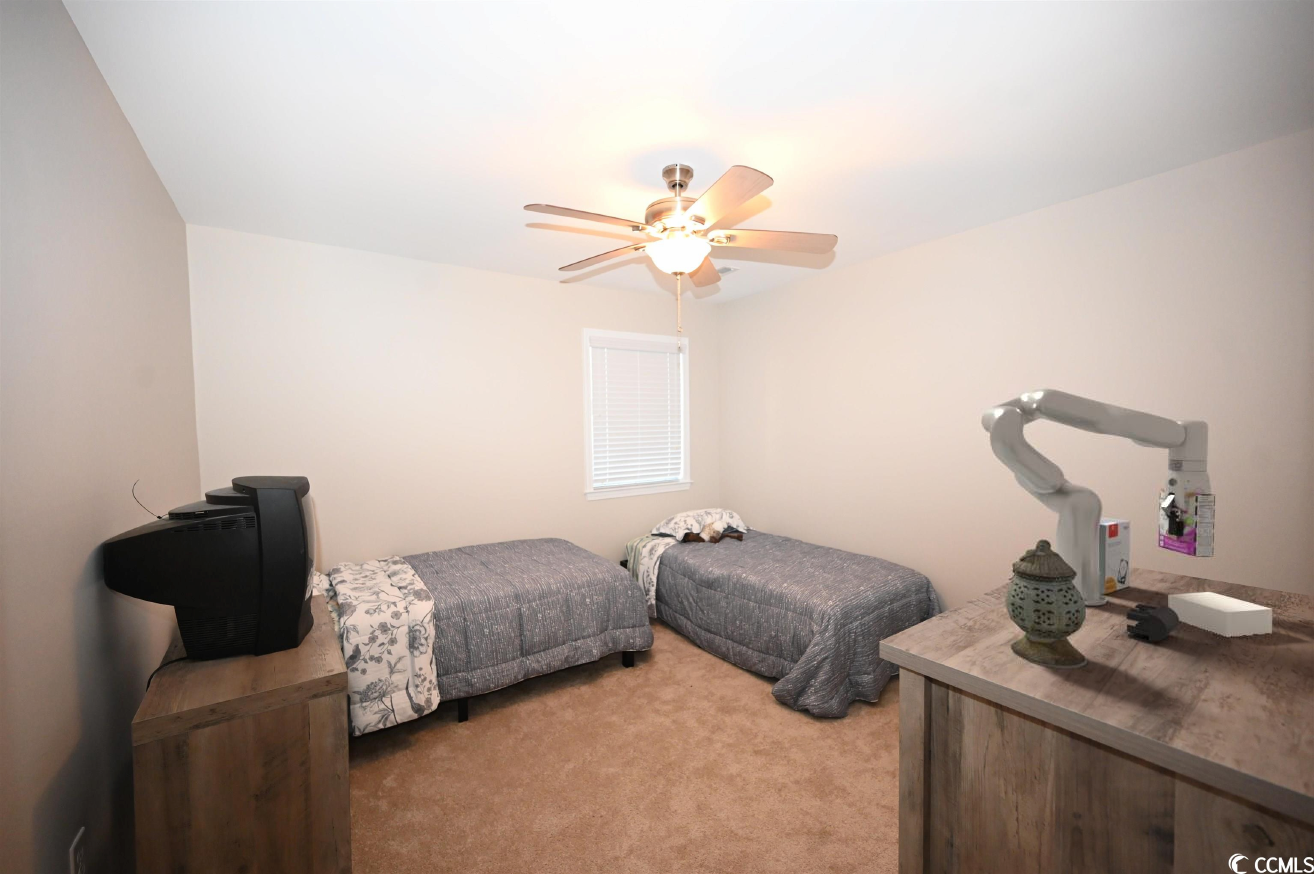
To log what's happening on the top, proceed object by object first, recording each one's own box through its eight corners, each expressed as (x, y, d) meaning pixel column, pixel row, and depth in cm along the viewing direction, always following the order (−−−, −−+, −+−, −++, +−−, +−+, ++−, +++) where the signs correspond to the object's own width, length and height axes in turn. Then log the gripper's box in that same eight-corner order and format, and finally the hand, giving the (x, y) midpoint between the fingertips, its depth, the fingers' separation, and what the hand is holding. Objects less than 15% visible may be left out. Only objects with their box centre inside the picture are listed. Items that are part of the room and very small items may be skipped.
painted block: (1226, 638, 128) (1226, 612, 127) (1168, 618, 141) (1168, 594, 140) (1272, 634, 129) (1272, 608, 129) (1209, 615, 142) (1210, 591, 142)
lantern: (1046, 672, 113) (1045, 549, 112) (991, 645, 127) (990, 535, 126) (1104, 664, 115) (1103, 544, 115) (1043, 638, 129) (1043, 531, 129)
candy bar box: (1156, 547, 154) (1158, 488, 154) (1175, 547, 154) (1176, 488, 154) (1194, 557, 143) (1196, 493, 143) (1214, 557, 143) (1216, 493, 142)
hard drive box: (1105, 595, 158) (1104, 525, 158) (1074, 588, 165) (1073, 521, 164) (1130, 586, 166) (1130, 519, 165) (1100, 580, 172) (1100, 516, 172)
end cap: (1166, 648, 123) (1166, 617, 123) (1126, 638, 129) (1126, 609, 128) (1179, 636, 129) (1179, 607, 128) (1140, 628, 134) (1140, 600, 134)
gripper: (1177, 469, 142) (1175, 539, 143) (1229, 467, 146) (1226, 536, 147) (1146, 466, 150) (1144, 533, 150) (1195, 465, 153) (1193, 530, 154)
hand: (1185, 534), depth 149 cm, fingers closed on candy bar box, 5 cm apart
